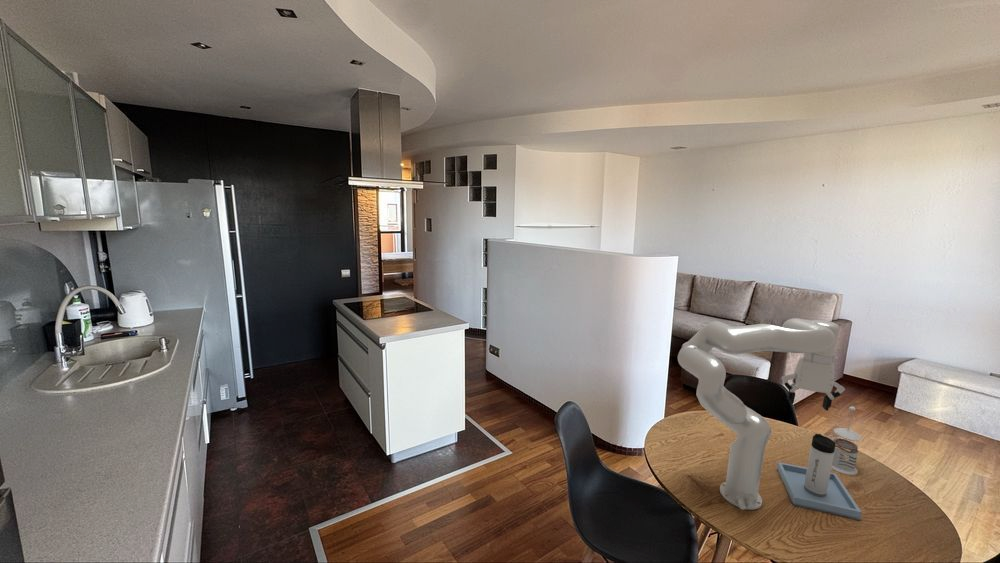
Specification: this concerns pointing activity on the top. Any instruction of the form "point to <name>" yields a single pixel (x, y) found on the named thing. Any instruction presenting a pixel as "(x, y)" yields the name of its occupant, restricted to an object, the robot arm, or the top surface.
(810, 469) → the travel mug
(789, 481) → the tray
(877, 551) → the top surface
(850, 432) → the french press
